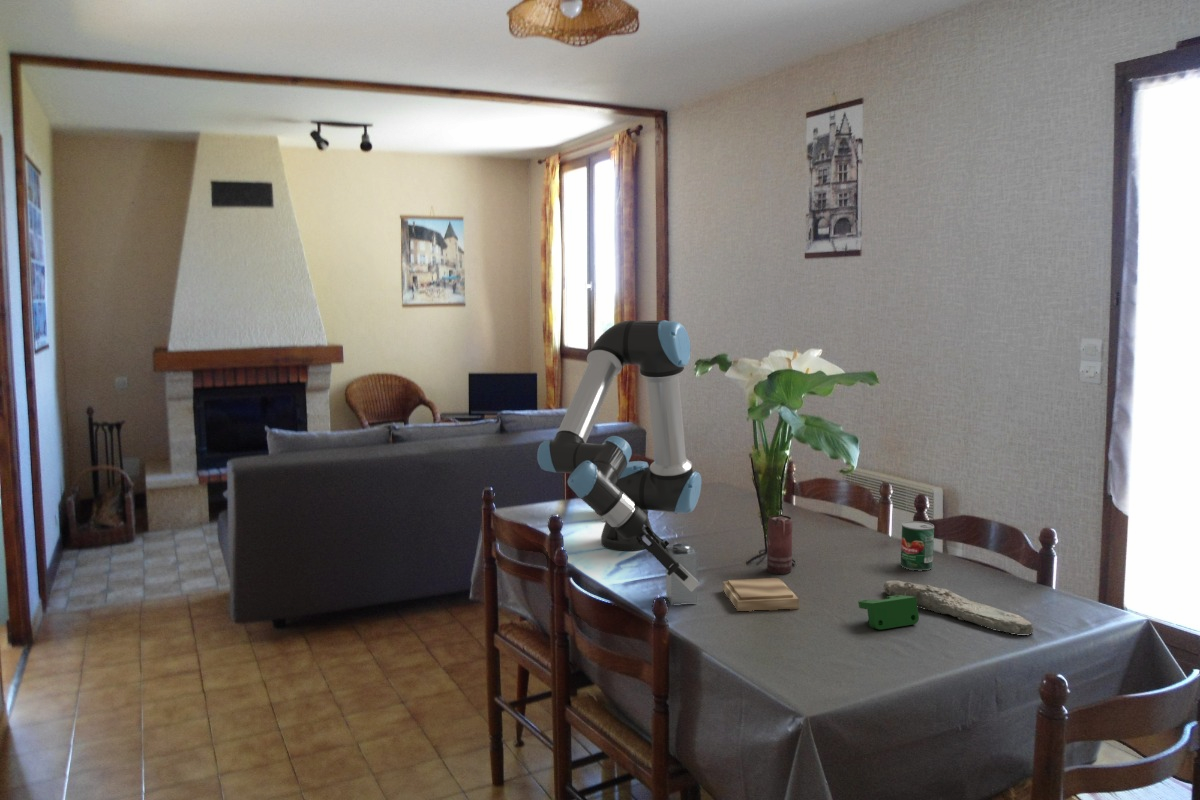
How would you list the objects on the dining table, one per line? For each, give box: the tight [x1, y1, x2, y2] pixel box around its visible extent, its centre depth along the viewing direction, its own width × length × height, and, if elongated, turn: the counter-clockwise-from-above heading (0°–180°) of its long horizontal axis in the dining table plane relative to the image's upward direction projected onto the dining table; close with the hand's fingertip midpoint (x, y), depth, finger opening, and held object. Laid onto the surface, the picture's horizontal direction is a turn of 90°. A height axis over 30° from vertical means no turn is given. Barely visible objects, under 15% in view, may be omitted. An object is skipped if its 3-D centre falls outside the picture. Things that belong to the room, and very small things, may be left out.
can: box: [766, 514, 793, 575], centre depth 228 cm, size 6×6×14 cm
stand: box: [722, 577, 800, 612], centre depth 208 cm, size 14×14×3 cm
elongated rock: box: [883, 579, 1034, 634], centre depth 199 cm, size 35×5×10 cm
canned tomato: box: [900, 520, 935, 572], centre depth 231 cm, size 8×8×11 cm
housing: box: [665, 543, 698, 607], centre depth 207 cm, size 6×6×13 cm
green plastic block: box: [858, 595, 920, 630], centre depth 193 cm, size 12×6×9 cm, turn 104°
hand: (689, 577), depth 207 cm, fingers open, 13 cm apart
